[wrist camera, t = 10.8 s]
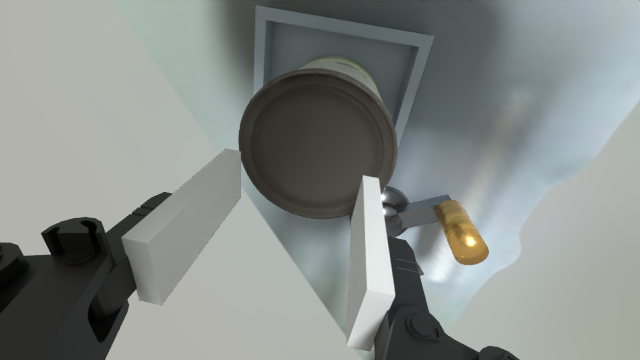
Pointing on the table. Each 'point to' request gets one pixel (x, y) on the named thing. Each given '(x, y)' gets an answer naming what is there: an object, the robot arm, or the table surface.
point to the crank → (451, 219)
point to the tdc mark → (419, 270)
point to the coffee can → (318, 138)
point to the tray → (342, 53)
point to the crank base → (393, 200)
